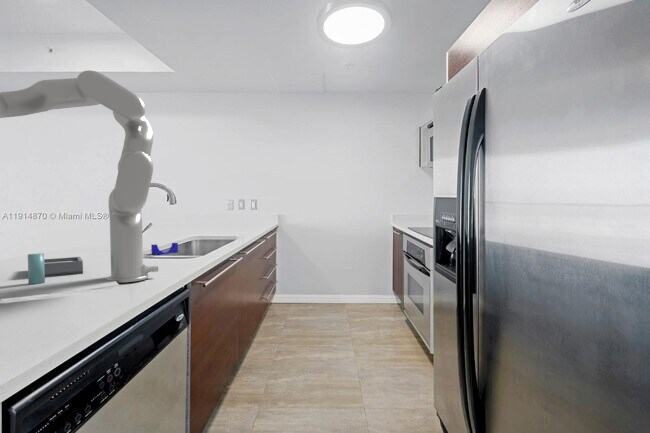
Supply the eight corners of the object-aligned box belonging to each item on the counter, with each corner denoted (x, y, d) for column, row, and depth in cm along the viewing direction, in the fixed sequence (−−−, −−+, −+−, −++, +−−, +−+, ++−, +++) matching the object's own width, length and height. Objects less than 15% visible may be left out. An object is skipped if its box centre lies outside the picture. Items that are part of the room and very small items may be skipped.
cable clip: (156, 257, 177) (155, 245, 177) (151, 257, 180) (151, 244, 180) (179, 255, 187) (179, 243, 187) (174, 254, 190) (174, 242, 189)
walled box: (80, 268, 145) (80, 256, 145) (82, 273, 132) (82, 260, 132) (31, 272, 136) (31, 260, 136) (29, 278, 123) (28, 265, 123)
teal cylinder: (44, 281, 118) (44, 253, 117) (44, 283, 114) (43, 254, 114) (28, 283, 115) (28, 254, 115) (28, 285, 112) (27, 255, 112)
